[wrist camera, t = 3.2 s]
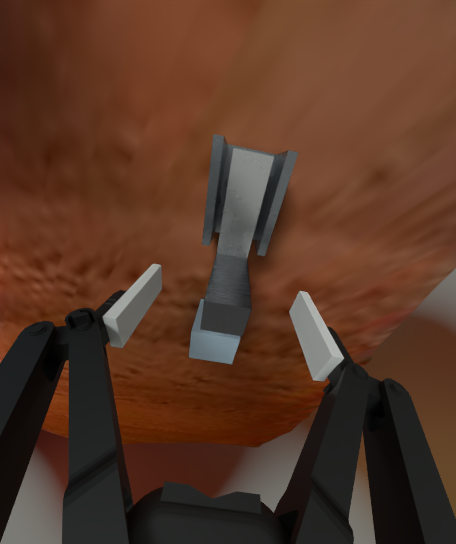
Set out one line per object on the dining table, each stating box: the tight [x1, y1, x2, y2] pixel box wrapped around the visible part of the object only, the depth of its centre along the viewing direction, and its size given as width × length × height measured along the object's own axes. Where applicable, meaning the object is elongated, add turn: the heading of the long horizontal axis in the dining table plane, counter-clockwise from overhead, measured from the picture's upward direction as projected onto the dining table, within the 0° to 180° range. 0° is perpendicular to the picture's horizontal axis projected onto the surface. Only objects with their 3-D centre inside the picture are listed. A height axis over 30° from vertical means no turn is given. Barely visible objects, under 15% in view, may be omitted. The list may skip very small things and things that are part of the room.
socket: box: [189, 299, 240, 364], centre depth 27 cm, size 6×7×7 cm
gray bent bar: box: [200, 148, 274, 336], centre depth 16 cm, size 16×3×11 cm, turn 170°
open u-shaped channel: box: [202, 134, 298, 256], centre depth 18 cm, size 9×7×5 cm
